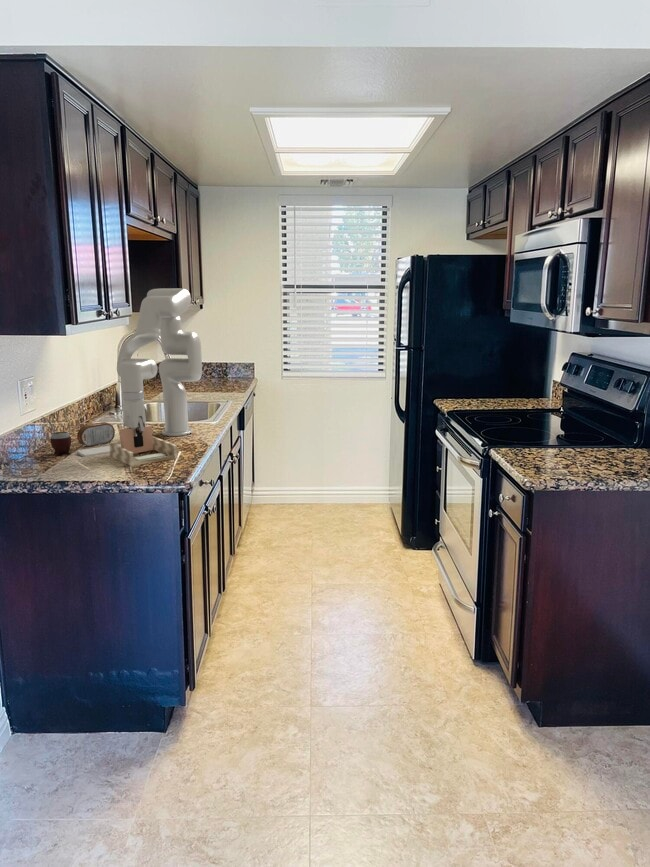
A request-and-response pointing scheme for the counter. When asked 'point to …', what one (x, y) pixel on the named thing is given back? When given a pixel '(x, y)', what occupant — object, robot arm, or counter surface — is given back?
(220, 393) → the counter surface
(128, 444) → the sheet
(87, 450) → the mat
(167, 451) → the rack
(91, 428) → the tin
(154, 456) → the offcut upper
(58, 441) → the mate gourd
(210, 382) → the counter surface
